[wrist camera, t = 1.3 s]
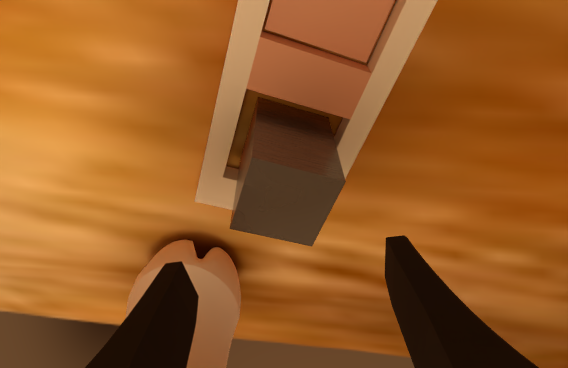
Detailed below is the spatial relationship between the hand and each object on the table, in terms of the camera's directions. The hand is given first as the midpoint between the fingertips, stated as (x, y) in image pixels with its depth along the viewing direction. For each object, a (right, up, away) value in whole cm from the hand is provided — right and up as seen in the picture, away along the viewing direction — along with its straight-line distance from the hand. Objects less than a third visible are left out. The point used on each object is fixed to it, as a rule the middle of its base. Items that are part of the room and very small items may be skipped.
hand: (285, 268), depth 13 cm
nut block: (0, +6, +8) cm, 9 cm away
